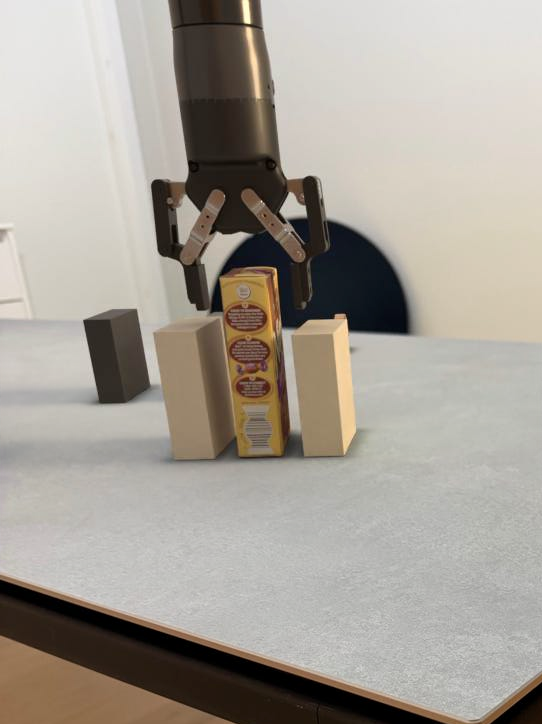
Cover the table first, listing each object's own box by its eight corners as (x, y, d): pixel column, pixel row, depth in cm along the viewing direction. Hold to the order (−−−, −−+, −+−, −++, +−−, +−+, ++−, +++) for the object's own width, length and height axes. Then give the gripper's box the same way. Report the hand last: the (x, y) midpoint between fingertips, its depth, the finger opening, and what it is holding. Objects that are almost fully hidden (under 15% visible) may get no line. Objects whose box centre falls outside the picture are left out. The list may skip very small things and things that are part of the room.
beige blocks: (174, 460, 85) (152, 332, 80) (201, 435, 93) (183, 317, 88) (344, 456, 85) (332, 327, 80) (356, 431, 93) (346, 313, 88)
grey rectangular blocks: (99, 403, 107) (82, 319, 103) (126, 386, 116) (111, 309, 112) (231, 399, 107) (219, 316, 103) (249, 383, 115) (238, 305, 111)
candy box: (287, 456, 85) (266, 274, 78) (238, 459, 85) (213, 276, 78) (295, 432, 93) (276, 265, 86) (250, 434, 92) (228, 266, 86)
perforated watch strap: (331, 353, 133) (328, 316, 131) (336, 348, 138) (333, 311, 135) (350, 353, 133) (347, 316, 131) (355, 347, 137) (352, 311, 135)
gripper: (122, 96, 73) (158, 317, 80) (307, 91, 73) (326, 313, 80) (152, 102, 80) (183, 305, 87) (322, 97, 80) (339, 302, 87)
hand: (252, 309), depth 83 cm, fingers open, 8 cm apart
